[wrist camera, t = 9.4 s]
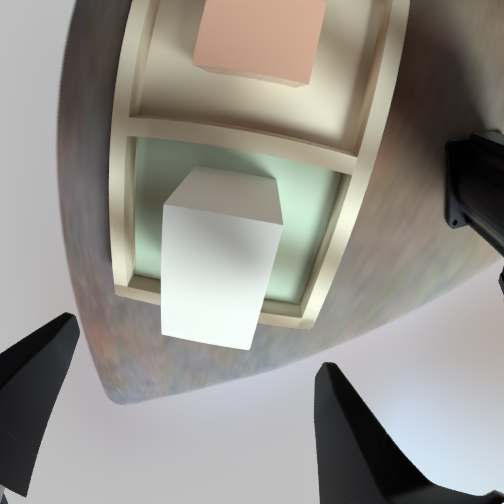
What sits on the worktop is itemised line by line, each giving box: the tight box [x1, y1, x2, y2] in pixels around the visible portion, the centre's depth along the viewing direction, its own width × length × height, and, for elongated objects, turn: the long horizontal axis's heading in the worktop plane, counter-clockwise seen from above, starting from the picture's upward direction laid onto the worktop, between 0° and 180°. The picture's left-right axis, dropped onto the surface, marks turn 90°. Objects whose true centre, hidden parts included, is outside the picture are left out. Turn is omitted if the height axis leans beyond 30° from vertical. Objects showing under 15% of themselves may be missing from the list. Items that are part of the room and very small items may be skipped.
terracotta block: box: [192, 0, 327, 88], centre depth 10 cm, size 4×4×4 cm
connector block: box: [161, 166, 284, 350], centre depth 15 cm, size 4×7×6 cm, turn 169°
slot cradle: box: [109, 0, 410, 330], centre depth 15 cm, size 23×14×2 cm, turn 169°
